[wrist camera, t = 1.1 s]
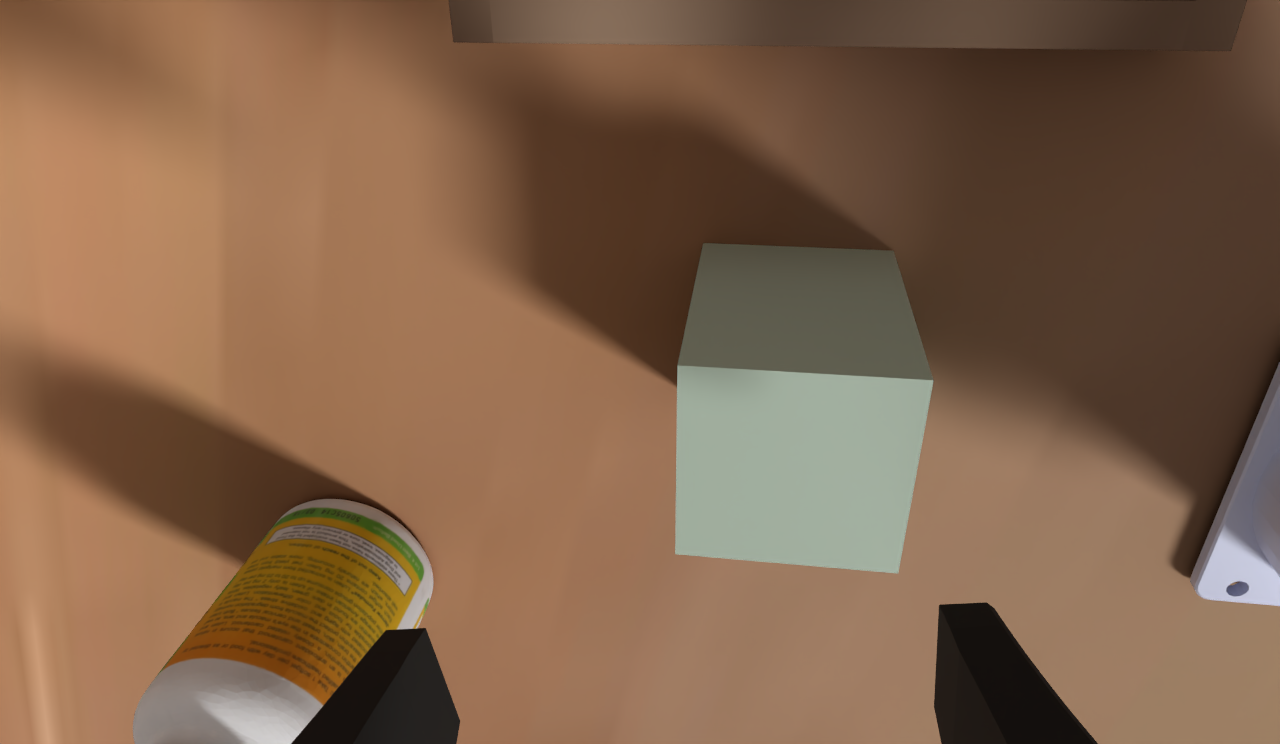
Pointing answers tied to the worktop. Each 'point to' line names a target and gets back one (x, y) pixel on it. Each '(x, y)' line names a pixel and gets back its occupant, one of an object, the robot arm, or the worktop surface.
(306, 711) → the supplement bottle
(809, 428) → the sage block
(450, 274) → the worktop surface
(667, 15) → the tray
